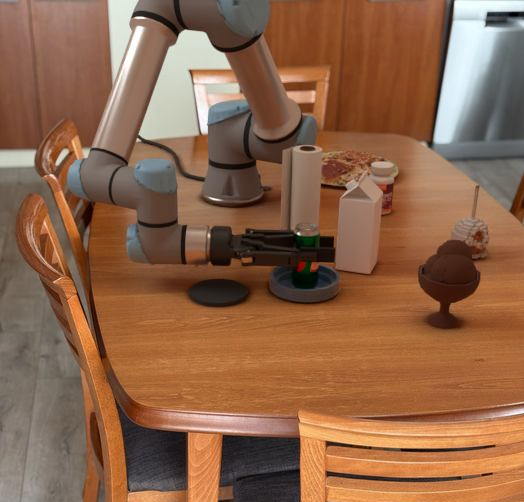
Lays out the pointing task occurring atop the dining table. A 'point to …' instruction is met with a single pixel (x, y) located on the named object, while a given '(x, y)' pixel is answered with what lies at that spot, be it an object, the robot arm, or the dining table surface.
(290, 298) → the dish
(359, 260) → the milk carton
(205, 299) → the coaster
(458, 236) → the candy apple
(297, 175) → the paper towel roll
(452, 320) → the ice cream bowl
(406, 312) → the dining table surface
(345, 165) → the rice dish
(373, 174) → the pill bottle
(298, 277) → the soda can
